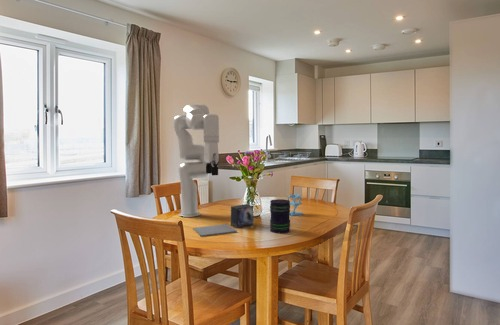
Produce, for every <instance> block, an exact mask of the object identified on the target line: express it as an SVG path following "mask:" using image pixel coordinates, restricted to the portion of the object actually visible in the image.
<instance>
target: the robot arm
mask: <svg viewBox="0 0 500 325" xmlns="http://www.w3.org/2000/svg"><path fill="white" fill-rule="evenodd" d="M182 110H183V111H182V113H183V114H178V115H175V116H174V118H173V129H174V132H175V134H176V137H177V140H178V141H177V142H178V143H177V144H178V151H179V157H180V159H181V160H182V161H188V162H183V163H180V164H179V165H178V174H179V180H180V206H181V207H180V208H181V209H180V210H181V212H179V213H178V216H179V217H181V216H183V217H182V218H196V217H198V216H200V215H201V211H198V186H197V183H196V182H195V180H194V179H203V178H206V177H207V176H208V175H209V174H211V176H219V156H220V154H219V143H220V121H219V120H220V119H219V114H215V113H213V114H212V113H211V114H210V110H209V107H208V106H207V105H205V104H195V103H194V104H186V105H185V106H184V108H182ZM188 130H193V131H194V130H195V131H197V130H199V131H200V130H201V131H202V130H203V143H204V145H203V144H194V142H193V141H194V140H193V137H192V135H191V133H190V132H189V131H188ZM189 161H195V162H189ZM196 161H197V162H196Z"/></svg>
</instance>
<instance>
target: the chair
mask: <svg viewBox="0 0 500 325" xmlns="http://www.w3.org/2000/svg"><path fill="white" fill-rule="evenodd" d="M286 198H287V199H286V200H289V201H290V198H292V201H290V206H293V210H292V211H290V213H289V216H291V217H293V216H295V217H296V216H303V215H304V212H300V211H296V209H297V207H299V206H300V205H302V204H303V203H302V202H301V200H302V199H301V198H302V196H301V195H299V194H298V193H295V194H294V193H293V194H289V195H288V196H287V197H286ZM297 199H298V201H296V200H297Z"/></svg>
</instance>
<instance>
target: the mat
mask: <svg viewBox="0 0 500 325" xmlns="http://www.w3.org/2000/svg"><path fill="white" fill-rule="evenodd" d="M193 229H194V230H195V231H196V232H197V233H198V234H197V233H196V232H195V233H196V234H197V235H199V234H200V235H201V236H204V237H208V236H207V235H212V236H218V235H217V234H220V235H226V234H227V233H228V234H236V233H237V232H238V231H237V229H235V228H233V226H231V225H229V224H227V223H225V224H215V225H207V226H198V227H197V226H196V227H193V228H192V230H193ZM194 230H193V231H194ZM228 234H227V235H228ZM200 235H199V236H200ZM201 236H200V237H201Z"/></svg>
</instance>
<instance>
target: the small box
mask: <svg viewBox="0 0 500 325" xmlns="http://www.w3.org/2000/svg"><path fill="white" fill-rule="evenodd" d="M250 226H254V206H253V205H251V204H248V203H247V204H246V203H245V204H238V205H232V206H230V227H232V228H233V227H234V228H236V229H240V228H243V227H246V228H247V227H250Z"/></svg>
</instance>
